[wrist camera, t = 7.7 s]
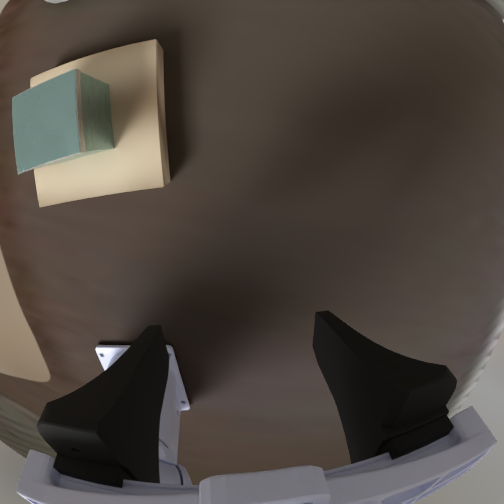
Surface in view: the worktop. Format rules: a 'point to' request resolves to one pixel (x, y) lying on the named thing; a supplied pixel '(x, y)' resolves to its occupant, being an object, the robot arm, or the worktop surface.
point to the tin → (61, 121)
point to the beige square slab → (116, 128)
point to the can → (55, 1)
